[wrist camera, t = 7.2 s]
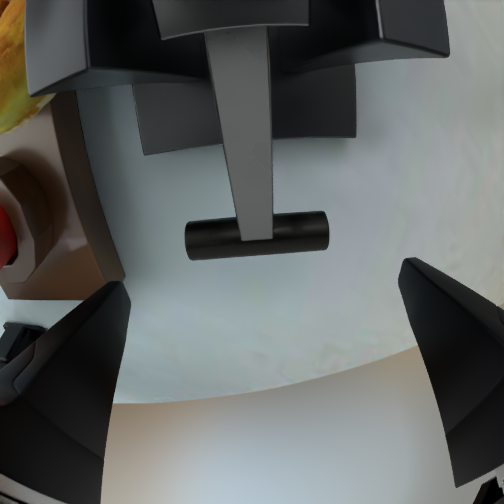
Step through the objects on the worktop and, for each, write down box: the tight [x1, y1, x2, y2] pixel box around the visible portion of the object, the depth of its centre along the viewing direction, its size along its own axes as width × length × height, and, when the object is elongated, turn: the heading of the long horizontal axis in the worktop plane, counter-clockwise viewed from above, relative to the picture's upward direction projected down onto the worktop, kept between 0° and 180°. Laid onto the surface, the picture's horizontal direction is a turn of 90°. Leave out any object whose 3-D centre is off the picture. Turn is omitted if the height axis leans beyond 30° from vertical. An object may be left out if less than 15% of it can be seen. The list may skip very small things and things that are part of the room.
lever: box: [150, 0, 329, 260], centre depth 6 cm, size 11×5×2 cm, turn 3°
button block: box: [0, 90, 125, 300], centre depth 11 cm, size 12×10×4 cm
